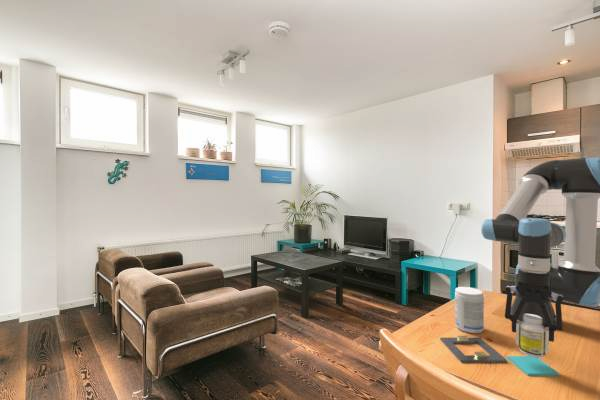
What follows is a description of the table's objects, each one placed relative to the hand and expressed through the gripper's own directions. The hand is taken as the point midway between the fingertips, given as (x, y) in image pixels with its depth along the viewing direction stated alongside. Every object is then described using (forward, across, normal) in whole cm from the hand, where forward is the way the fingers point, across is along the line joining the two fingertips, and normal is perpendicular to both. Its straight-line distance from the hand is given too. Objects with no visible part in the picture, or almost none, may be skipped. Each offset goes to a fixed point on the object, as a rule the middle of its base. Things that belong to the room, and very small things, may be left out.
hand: (531, 346), depth 90 cm
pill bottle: (+2, 0, 0) cm, 2 cm away
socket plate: (+6, -16, -1) cm, 17 cm away
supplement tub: (+6, -20, +16) cm, 26 cm away
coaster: (+6, 0, 0) cm, 6 cm away
